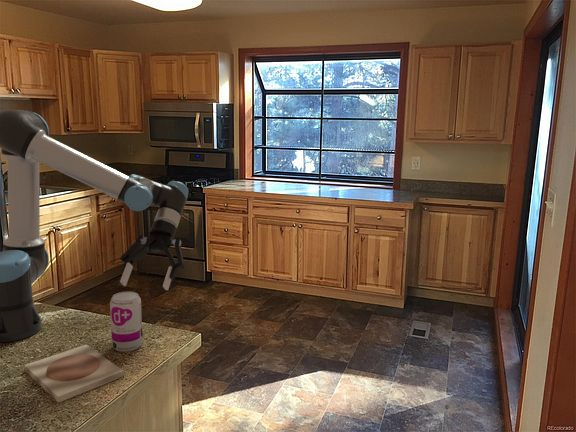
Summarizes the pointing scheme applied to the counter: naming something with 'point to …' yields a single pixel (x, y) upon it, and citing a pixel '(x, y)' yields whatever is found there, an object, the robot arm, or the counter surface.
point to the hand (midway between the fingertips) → (143, 286)
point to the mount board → (73, 372)
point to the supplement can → (126, 321)
